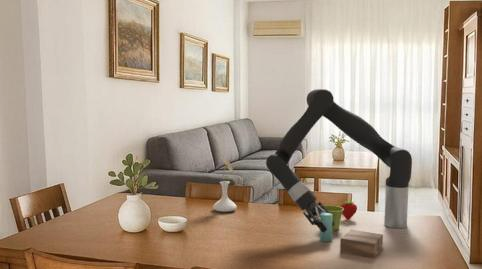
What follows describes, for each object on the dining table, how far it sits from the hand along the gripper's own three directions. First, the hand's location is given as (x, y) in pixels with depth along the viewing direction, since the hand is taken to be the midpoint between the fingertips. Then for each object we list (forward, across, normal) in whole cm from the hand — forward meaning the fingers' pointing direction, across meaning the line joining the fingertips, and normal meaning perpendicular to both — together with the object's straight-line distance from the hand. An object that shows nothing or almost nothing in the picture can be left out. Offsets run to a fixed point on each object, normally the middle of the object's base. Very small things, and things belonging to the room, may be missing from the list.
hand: (329, 228), depth 178 cm
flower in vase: (-38, +17, +45) cm, 61 cm away
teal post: (+3, 0, +4) cm, 5 cm away
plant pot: (0, +15, +6) cm, 16 cm away
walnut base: (+13, -4, -6) cm, 15 cm away
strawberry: (+2, +31, +5) cm, 31 cm away
